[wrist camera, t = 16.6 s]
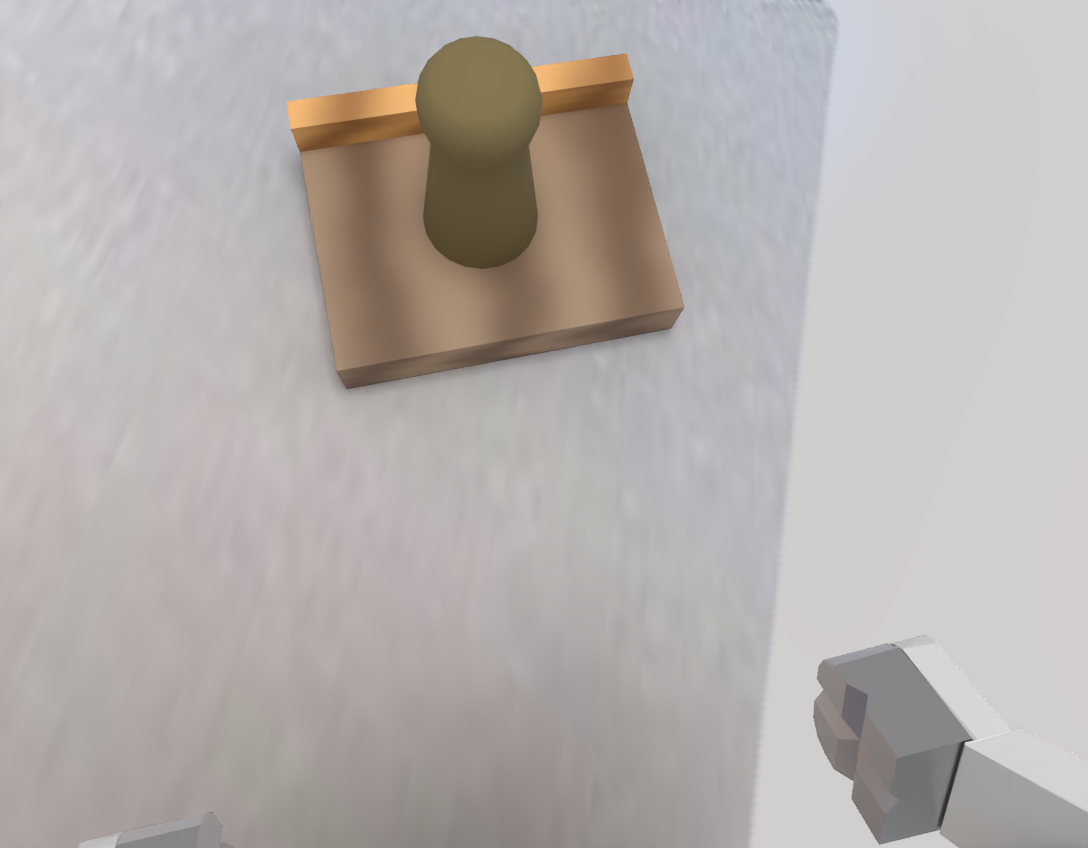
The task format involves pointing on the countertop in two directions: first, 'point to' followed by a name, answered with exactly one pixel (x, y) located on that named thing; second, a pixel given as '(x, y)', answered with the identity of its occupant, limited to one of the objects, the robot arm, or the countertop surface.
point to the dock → (499, 292)
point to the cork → (479, 151)
